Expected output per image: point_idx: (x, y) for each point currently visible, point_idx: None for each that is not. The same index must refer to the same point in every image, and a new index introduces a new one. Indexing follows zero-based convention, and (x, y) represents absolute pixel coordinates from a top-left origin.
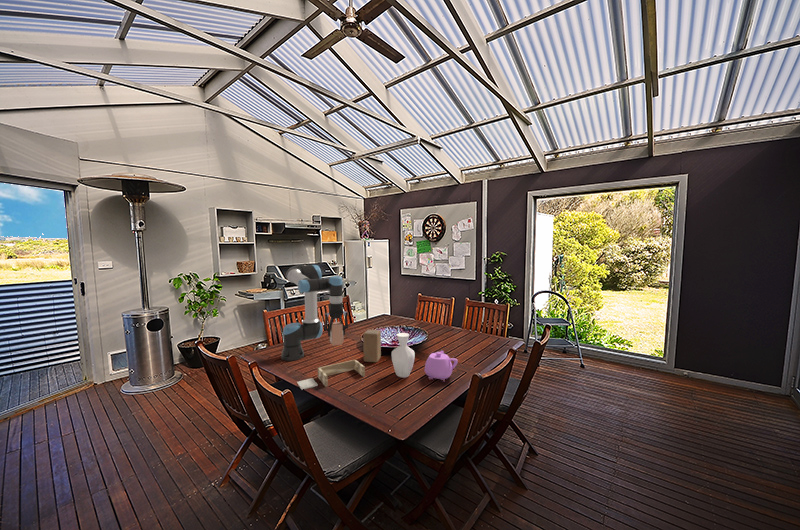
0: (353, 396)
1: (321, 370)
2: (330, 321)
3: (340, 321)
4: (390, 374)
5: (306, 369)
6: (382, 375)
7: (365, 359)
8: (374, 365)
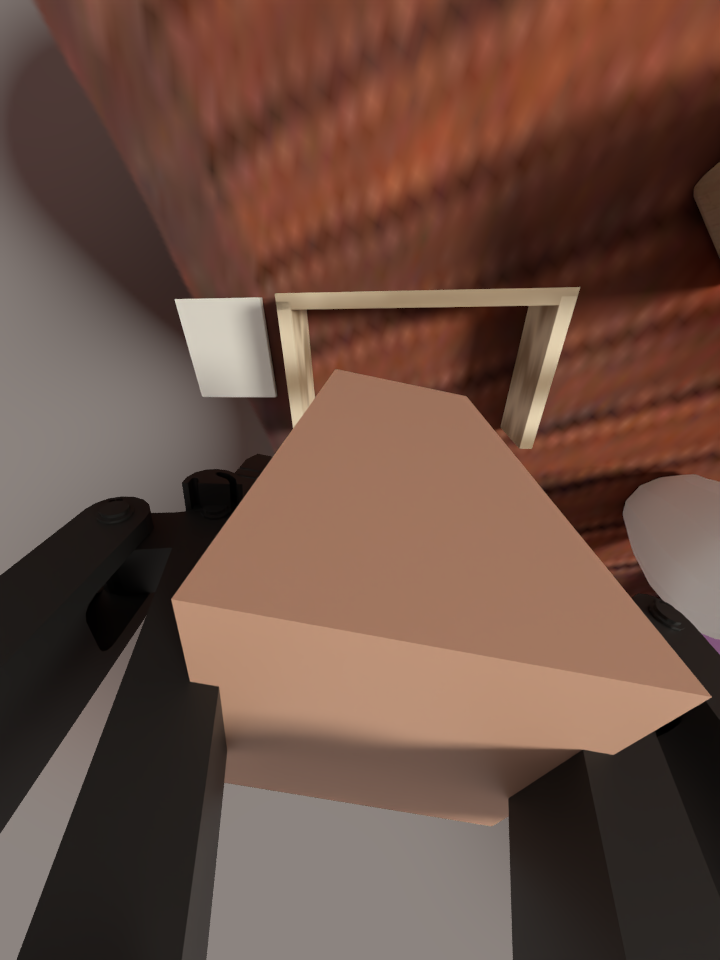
0: None
1: (290, 355)
2: (86, 862)
3: (515, 926)
4: (618, 474)
5: (234, 56)
6: (581, 463)
7: (710, 201)
8: (672, 318)
